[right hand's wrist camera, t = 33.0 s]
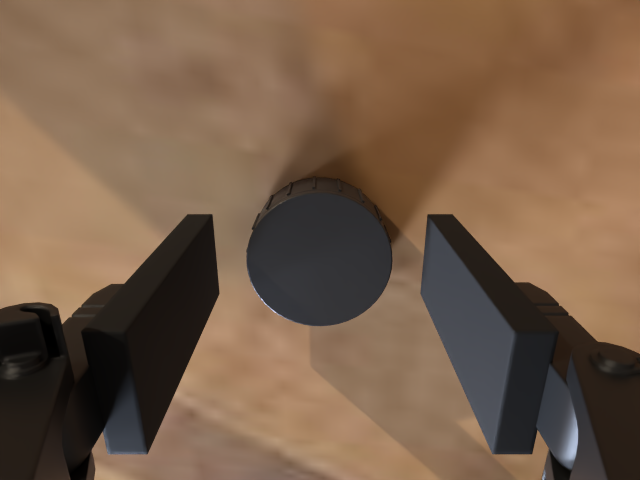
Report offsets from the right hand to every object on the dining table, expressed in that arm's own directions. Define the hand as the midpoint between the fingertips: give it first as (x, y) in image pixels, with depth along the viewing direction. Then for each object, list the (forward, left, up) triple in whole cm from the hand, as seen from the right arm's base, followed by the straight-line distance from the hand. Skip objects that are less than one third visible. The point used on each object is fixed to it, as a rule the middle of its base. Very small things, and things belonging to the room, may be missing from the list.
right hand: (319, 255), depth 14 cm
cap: (0, 0, 0) cm, 0 cm away
